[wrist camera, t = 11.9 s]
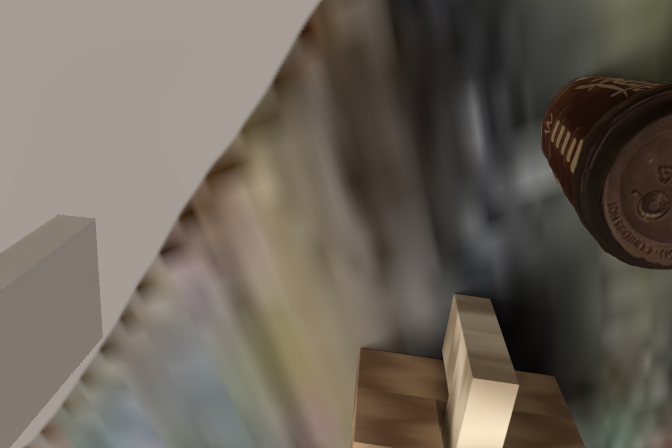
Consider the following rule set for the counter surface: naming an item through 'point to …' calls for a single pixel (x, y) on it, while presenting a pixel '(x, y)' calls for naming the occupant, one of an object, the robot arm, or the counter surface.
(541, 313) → the counter surface
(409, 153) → the counter surface
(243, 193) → the counter surface
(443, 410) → the walnut board
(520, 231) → the counter surface
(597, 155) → the coffee cup
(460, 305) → the maple plate
